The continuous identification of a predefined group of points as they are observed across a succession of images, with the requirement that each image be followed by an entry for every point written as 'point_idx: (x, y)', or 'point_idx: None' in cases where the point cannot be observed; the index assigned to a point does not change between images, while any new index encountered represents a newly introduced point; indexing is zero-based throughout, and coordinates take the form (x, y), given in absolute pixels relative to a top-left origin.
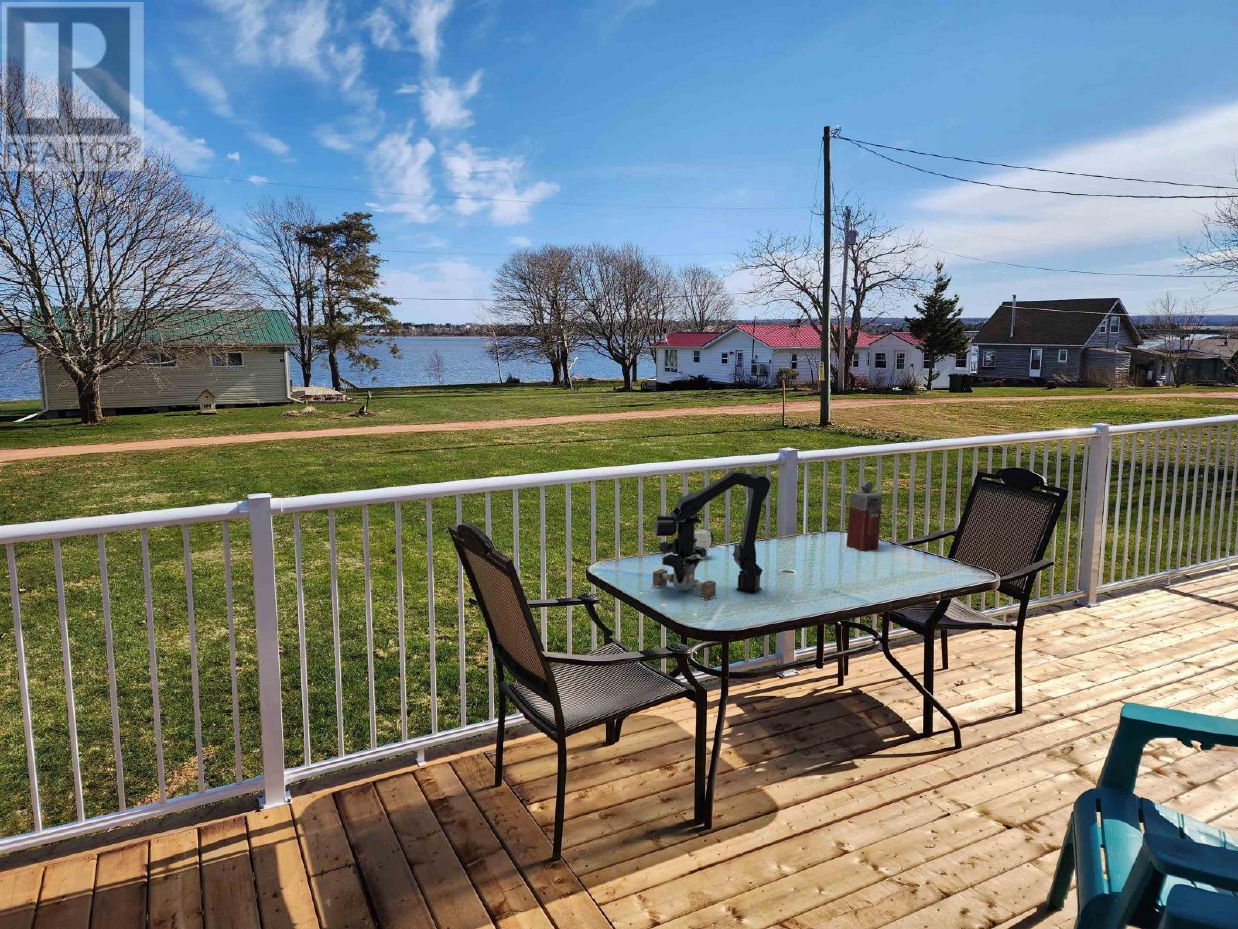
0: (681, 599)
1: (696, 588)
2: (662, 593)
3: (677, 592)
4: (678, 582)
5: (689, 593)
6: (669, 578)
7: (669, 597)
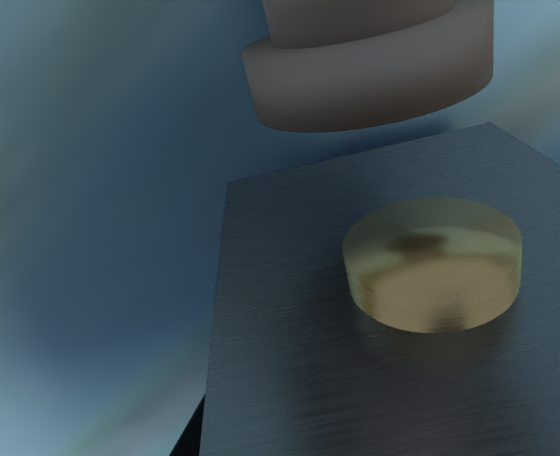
0: (131, 392)
1: None
2: (27, 123)
3: None
4: None
5: None
6: (248, 77)
7: (35, 291)
